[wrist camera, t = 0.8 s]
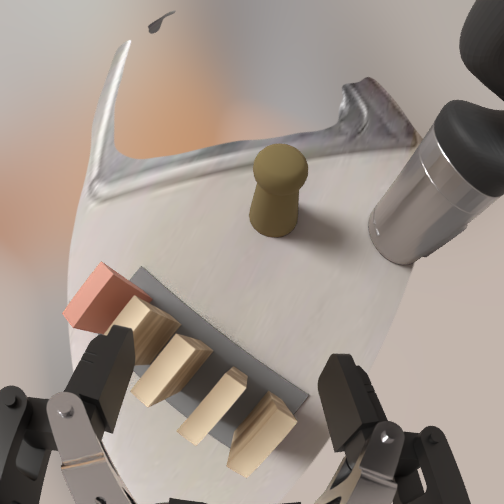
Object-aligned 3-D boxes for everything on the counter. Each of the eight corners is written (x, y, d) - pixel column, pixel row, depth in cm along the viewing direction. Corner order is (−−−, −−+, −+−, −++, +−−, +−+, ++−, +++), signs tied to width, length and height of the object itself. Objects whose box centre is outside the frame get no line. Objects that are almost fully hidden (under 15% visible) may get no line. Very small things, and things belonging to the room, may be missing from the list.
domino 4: (247, 376, 27) (246, 388, 17) (213, 417, 25) (196, 446, 16) (233, 366, 27) (225, 373, 18) (200, 407, 25) (176, 431, 16)
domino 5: (282, 399, 26) (297, 421, 16) (247, 440, 24) (246, 478, 15) (268, 390, 26) (277, 409, 17) (234, 431, 24) (226, 466, 15)
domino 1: (152, 299, 30) (113, 274, 20) (122, 337, 28) (72, 327, 18) (142, 289, 30) (101, 261, 21) (112, 327, 28) (62, 313, 19)
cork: (299, 237, 33) (320, 185, 22) (249, 237, 33) (248, 184, 22) (295, 194, 35) (310, 135, 25) (248, 194, 35) (248, 134, 25)
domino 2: (181, 324, 29) (150, 309, 19) (149, 364, 27) (106, 366, 18) (169, 314, 29) (134, 295, 20) (138, 353, 27) (91, 350, 18)
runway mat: (308, 394, 26) (308, 394, 26) (252, 460, 23) (252, 462, 23) (142, 266, 31) (141, 266, 31) (94, 328, 28) (92, 327, 28)
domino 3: (213, 350, 28) (195, 349, 18) (180, 391, 26) (147, 407, 17) (200, 340, 28) (176, 333, 19) (167, 380, 26) (130, 391, 17)
